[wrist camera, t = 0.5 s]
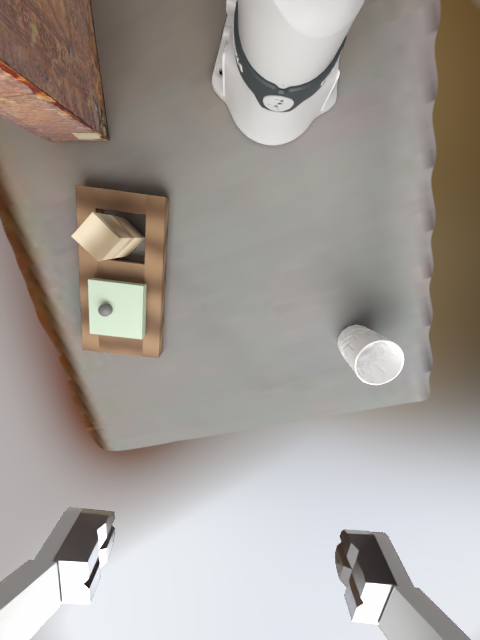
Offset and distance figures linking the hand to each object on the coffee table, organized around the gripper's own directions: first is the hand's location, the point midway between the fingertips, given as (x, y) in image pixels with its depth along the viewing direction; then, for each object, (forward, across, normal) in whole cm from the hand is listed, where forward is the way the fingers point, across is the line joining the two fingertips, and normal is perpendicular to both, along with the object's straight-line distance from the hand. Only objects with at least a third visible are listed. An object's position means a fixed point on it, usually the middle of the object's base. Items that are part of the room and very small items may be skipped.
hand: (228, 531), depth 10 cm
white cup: (+43, -24, +6) cm, 50 cm away
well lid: (+40, +20, +4) cm, 45 cm away
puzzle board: (+43, +20, -1) cm, 47 cm away
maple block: (+43, +20, -8) cm, 48 cm away
